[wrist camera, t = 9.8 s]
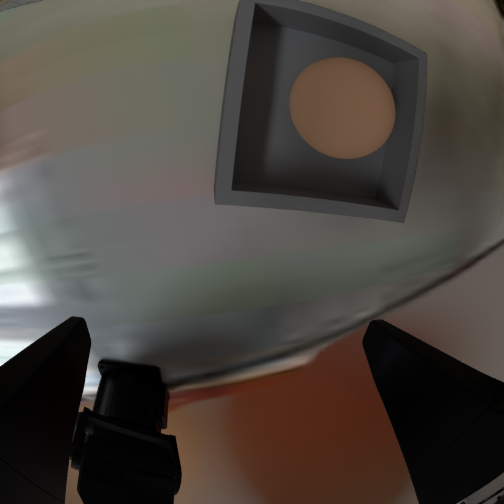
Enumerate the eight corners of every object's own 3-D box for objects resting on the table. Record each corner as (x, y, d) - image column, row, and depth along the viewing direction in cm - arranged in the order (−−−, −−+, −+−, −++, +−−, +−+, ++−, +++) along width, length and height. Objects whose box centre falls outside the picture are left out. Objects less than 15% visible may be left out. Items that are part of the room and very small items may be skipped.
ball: (271, 146, 16) (305, 154, 11) (282, 59, 14) (319, 29, 8) (353, 160, 17) (408, 176, 12) (364, 81, 15) (420, 72, 10)
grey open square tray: (213, 190, 17) (214, 204, 14) (235, 13, 12) (242, -10, 9) (377, 207, 20) (403, 222, 17) (398, 59, 15) (427, 53, 12)
